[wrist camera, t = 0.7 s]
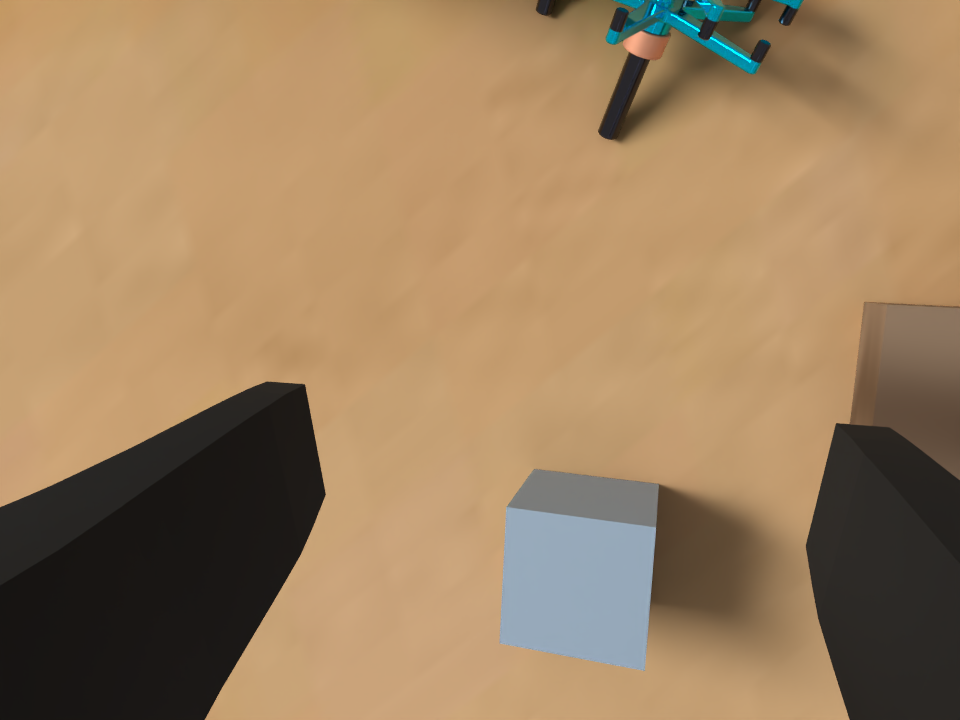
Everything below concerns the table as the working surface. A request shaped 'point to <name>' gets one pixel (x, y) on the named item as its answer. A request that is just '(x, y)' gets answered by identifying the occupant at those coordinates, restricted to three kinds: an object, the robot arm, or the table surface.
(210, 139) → the table surface
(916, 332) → the walnut base
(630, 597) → the gray cube
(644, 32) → the stick construction toy
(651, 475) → the table surface
